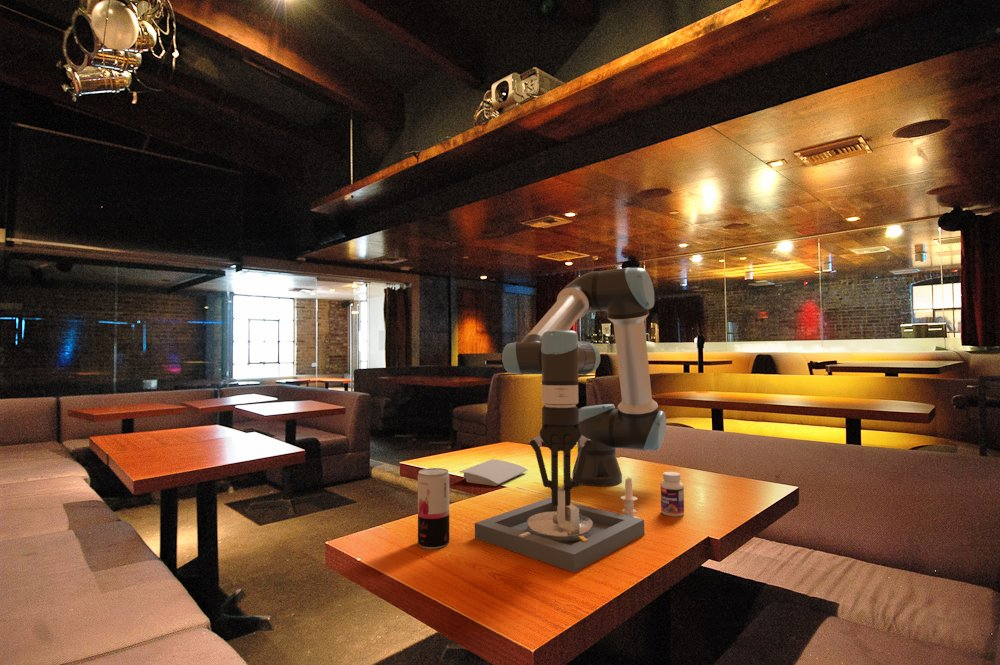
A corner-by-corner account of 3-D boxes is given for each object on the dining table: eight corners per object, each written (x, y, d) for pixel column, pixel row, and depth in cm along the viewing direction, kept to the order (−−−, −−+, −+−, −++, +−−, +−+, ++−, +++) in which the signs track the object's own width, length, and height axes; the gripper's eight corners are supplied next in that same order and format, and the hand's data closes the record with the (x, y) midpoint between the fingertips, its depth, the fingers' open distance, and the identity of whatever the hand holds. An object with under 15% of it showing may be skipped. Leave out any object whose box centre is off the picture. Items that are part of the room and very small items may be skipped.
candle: (616, 523, 119) (615, 478, 119) (619, 516, 124) (618, 473, 124) (640, 525, 117) (638, 479, 117) (641, 518, 122) (640, 474, 122)
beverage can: (422, 551, 103) (422, 476, 104) (414, 541, 109) (414, 469, 110) (453, 546, 106) (453, 472, 106) (444, 536, 112) (443, 466, 112)
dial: (519, 523, 116) (519, 492, 116) (577, 517, 119) (576, 487, 120) (542, 548, 101) (541, 512, 101) (607, 541, 104) (606, 506, 105)
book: (452, 484, 158) (452, 471, 158) (489, 469, 178) (489, 458, 178) (495, 490, 151) (495, 477, 151) (529, 474, 171) (529, 462, 171)
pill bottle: (657, 513, 126) (656, 473, 126) (666, 508, 129) (666, 469, 130) (678, 518, 122) (677, 477, 122) (688, 513, 126) (686, 473, 126)
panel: (549, 510, 129) (549, 496, 129) (644, 534, 111) (644, 518, 111) (474, 538, 110) (474, 521, 110) (574, 572, 92) (574, 552, 93)
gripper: (529, 407, 102) (529, 527, 101) (594, 407, 102) (595, 528, 101) (528, 403, 110) (528, 515, 109) (589, 403, 109) (590, 516, 108)
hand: (561, 521), depth 105 cm, fingers closed
